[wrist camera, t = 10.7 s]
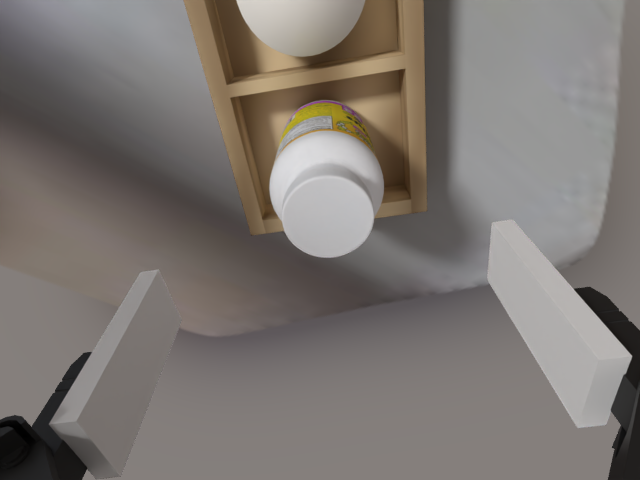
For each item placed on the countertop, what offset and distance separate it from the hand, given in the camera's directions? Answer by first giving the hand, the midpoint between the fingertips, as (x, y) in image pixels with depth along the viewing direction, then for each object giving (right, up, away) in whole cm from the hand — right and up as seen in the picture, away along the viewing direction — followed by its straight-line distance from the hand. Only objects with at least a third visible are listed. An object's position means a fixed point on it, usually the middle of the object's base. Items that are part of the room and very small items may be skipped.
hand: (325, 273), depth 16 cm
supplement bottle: (0, +9, +15) cm, 18 cm away
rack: (-1, +14, +13) cm, 19 cm away
